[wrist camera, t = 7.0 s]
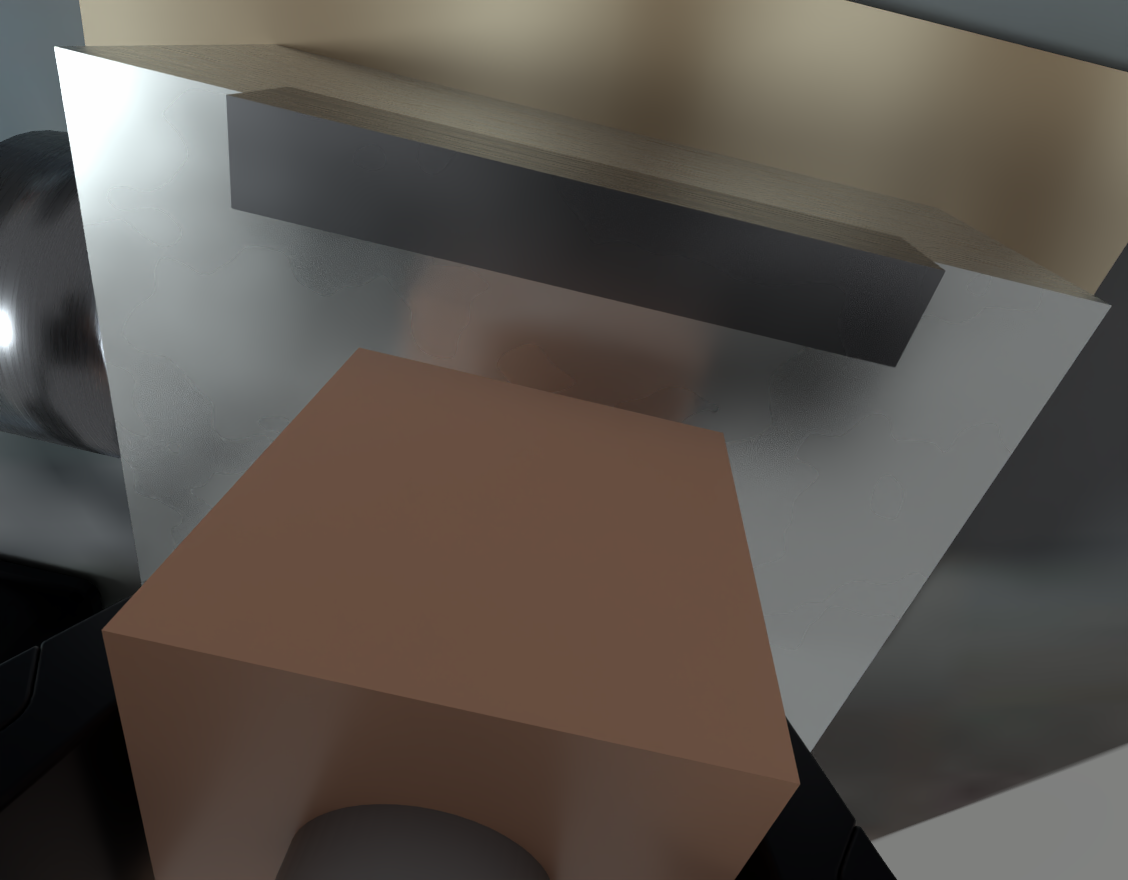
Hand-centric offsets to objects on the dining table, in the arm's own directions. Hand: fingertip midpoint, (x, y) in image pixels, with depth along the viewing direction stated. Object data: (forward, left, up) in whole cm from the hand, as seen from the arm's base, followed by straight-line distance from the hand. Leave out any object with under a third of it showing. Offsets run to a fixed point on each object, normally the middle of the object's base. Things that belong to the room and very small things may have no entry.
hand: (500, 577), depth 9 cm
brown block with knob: (0, 0, -1) cm, 1 cm away
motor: (-1, 0, -8) cm, 8 cm away
